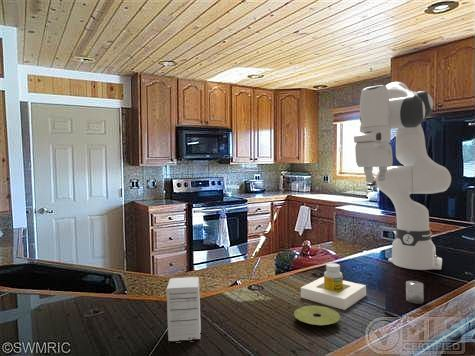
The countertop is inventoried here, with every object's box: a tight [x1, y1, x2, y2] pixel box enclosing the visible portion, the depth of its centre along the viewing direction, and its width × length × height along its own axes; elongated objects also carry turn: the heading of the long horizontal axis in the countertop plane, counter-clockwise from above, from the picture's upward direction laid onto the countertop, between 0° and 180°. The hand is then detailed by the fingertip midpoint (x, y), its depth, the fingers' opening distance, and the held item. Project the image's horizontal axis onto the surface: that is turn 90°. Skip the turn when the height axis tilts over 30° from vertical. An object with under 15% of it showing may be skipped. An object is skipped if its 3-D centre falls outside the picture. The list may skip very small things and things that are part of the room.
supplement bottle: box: [323, 262, 344, 293], centre depth 99 cm, size 5×5×10 cm
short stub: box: [405, 280, 425, 305], centre depth 94 cm, size 4×4×5 cm
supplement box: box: [166, 276, 202, 341], centre depth 78 cm, size 7×7×13 cm
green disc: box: [293, 305, 341, 326], centre depth 82 cm, size 11×11×2 cm
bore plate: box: [300, 276, 367, 311], centre depth 99 cm, size 14×14×3 cm
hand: (376, 181), depth 103 cm, fingers open, 8 cm apart
